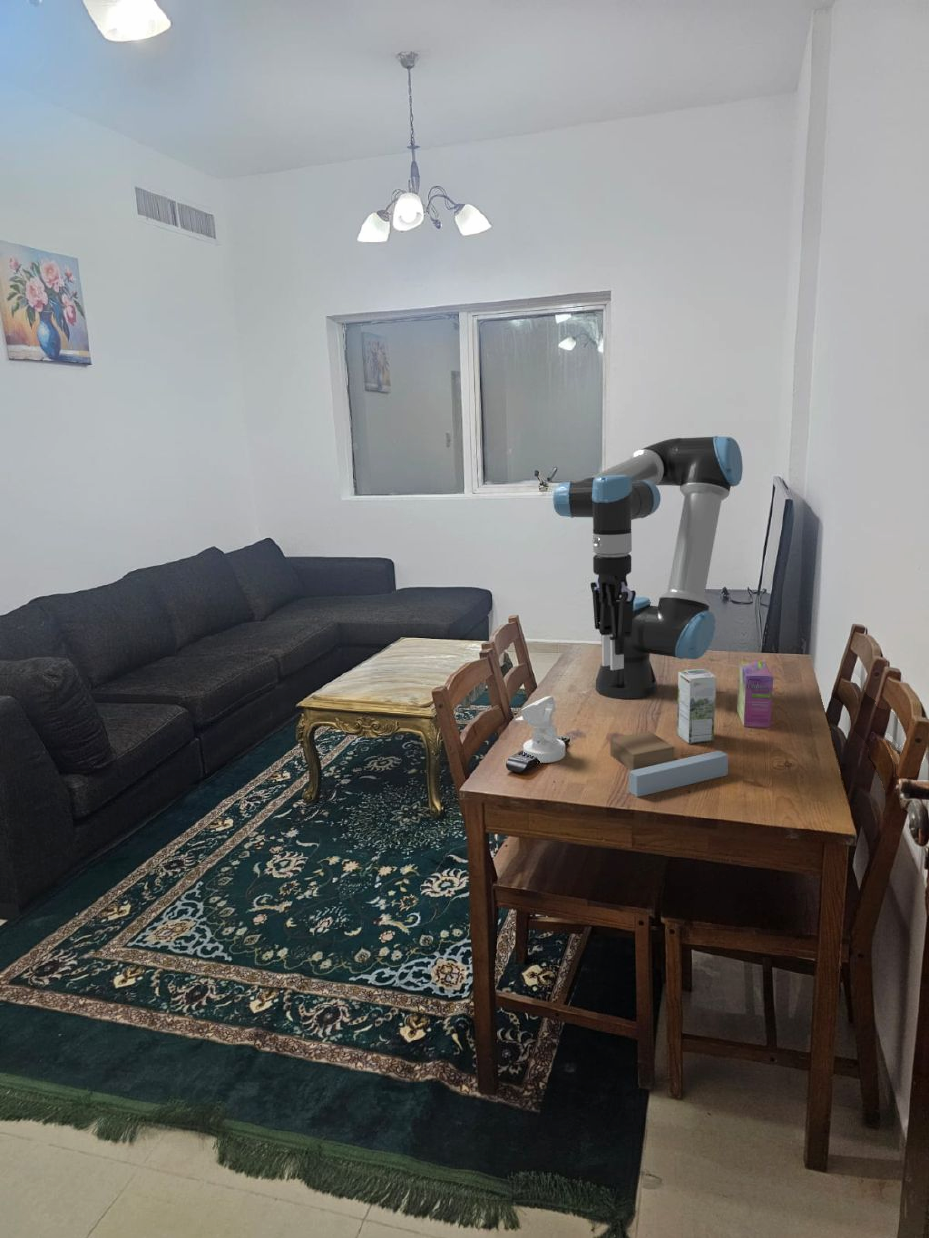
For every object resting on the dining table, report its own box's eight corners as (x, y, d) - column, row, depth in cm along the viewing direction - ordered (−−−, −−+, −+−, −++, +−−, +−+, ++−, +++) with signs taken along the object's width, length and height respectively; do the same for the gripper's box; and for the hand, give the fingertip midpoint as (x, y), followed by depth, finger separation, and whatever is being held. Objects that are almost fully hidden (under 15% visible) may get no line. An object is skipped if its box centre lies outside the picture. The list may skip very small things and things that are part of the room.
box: (771, 728, 166) (773, 675, 163) (743, 727, 167) (745, 675, 164) (763, 711, 176) (765, 661, 173) (736, 710, 177) (738, 661, 174)
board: (628, 791, 140) (628, 771, 139) (718, 769, 147) (719, 750, 146) (636, 797, 138) (636, 776, 137) (727, 774, 145) (728, 755, 144)
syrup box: (701, 731, 166) (702, 667, 162) (714, 741, 160) (716, 675, 157) (676, 734, 165) (677, 669, 161) (688, 745, 159) (690, 677, 156)
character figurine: (550, 766, 152) (549, 708, 150) (511, 756, 158) (509, 700, 155) (573, 750, 159) (572, 695, 156) (534, 741, 165) (532, 688, 162)
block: (610, 756, 156) (610, 738, 155) (649, 749, 159) (649, 731, 158) (633, 774, 148) (633, 754, 147) (674, 765, 150) (674, 746, 150)
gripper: (576, 551, 159) (577, 660, 165) (617, 560, 145) (617, 679, 151) (607, 547, 162) (608, 655, 167) (651, 556, 148) (650, 674, 153)
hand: (612, 666), depth 159 cm, fingers open, 3 cm apart
